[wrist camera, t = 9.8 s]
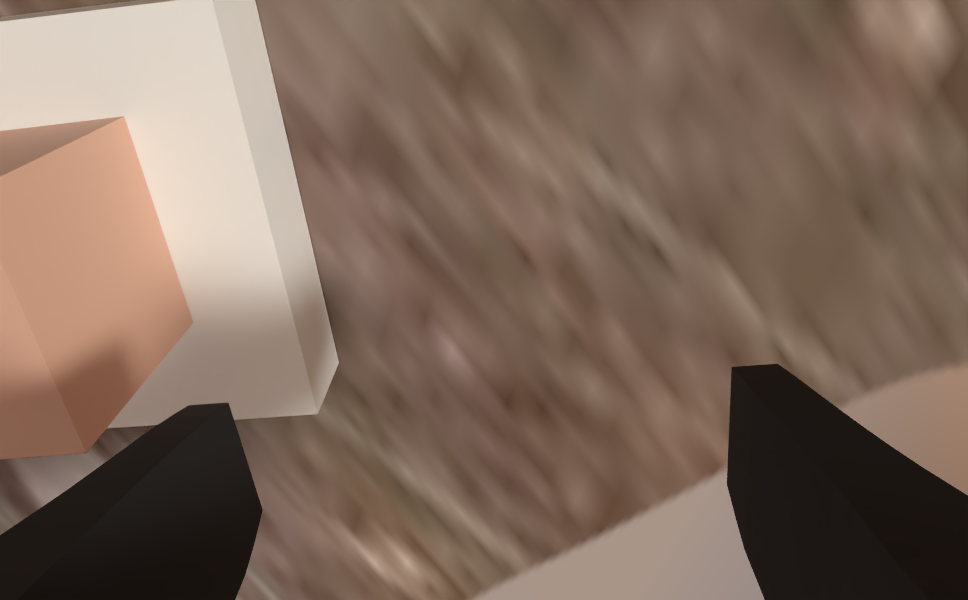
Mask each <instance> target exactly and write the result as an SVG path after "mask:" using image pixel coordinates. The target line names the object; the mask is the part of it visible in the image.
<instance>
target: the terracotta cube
mask: <svg viewBox="0 0 968 600" xmlns="http://www.w3.org/2000/svg"><path fill="white" fill-rule="evenodd" d="M192 323H193V320H192V317H191V314H190V311H189V308H188V305H187V302H186V299H185V296H184V293H183V290H182V287H181V284H180V281H179V278H178V275H177V272H176V269H175V266H174V263H173V260H172V257H171V254H170V251H169V248H168V245H167V242H166V239H165V236H164V233H163V230H162V227H161V225H160V222H159V219H158V216H157V213H156V210H155V207H154V204H153V201H152V198H151V195H150V192H149V189H148V186H147V183H146V180H145V177H144V174H143V171H142V168H141V165H140V162H139V159H138V156H137V153H136V150H135V147H134V144H133V141H132V138H131V135H130V132H129V129H128V126H127V123H126V120H125V117H124V116H122V117H114V118H105V119H97V120H89V121H80V122H72V123H63V124H55V125H46V126H38V127H29V128H21V129H12V130H4V131H0V459H14V458H27V457H41V456H54V455H68V454H81V453H87V452H88V450H89V449H90V448H91V447H92V445H93V444H94V443H95V442H96V441H97V439H98V438H99V437H100V436H101V434H102V433H103V432H104V431H105V430H106V428H107V427H108V426H109V425H110V423H111V422H112V421H113V420H114V419H115V417H116V416H117V415H118V414H119V412H120V411H121V410H122V409H123V408H124V406H125V405H126V404H127V403H128V402H129V400H130V399H131V398H132V397H133V395H134V394H135V393H136V392H137V391H138V389H139V388H140V387H141V386H142V384H143V383H144V382H145V381H146V380H147V378H148V377H149V376H150V375H151V373H152V372H153V371H154V370H155V369H156V367H157V366H158V365H159V364H160V362H161V361H162V360H163V359H164V358H165V356H166V355H167V354H168V353H169V352H170V350H171V349H172V348H173V347H174V345H175V344H176V343H177V342H178V341H179V339H180V338H181V337H182V336H183V334H184V333H185V332H186V331H187V330H188V328H189V327H190V326H191V325H192Z"/></svg>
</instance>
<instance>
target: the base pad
mask: <svg viewBox="0 0 968 600" xmlns="http://www.w3.org/2000/svg"><path fill="white" fill-rule="evenodd" d="M122 116H124V117H125V120H126V123H127V126H128V129H129V132H130V135H131V138H132V141H133V144H134V147H135V150H136V153H137V156H138V159H139V162H140V165H141V168H142V171H143V174H144V177H145V180H146V183H147V186H148V189H149V192H150V195H151V198H152V201H153V204H154V207H155V210H156V213H157V216H158V219H159V222H160V225H161V227H162V230H163V233H164V236H165V239H166V242H167V245H168V248H169V251H170V254H171V257H172V260H173V263H174V266H175V269H176V272H177V275H178V278H179V281H180V284H181V287H182V290H183V293H184V296H185V299H186V302H187V305H188V308H189V311H190V314H191V317H192V320H193V323H192V325H191V326H190V327H189V328H188V330H187V331H186V332H185V333H184V334H183V336H182V337H181V338H180V339H179V341H178V342H177V343H176V344H175V345H174V347H173V348H172V349H171V350H170V352H169V353H168V354H167V355H166V356H165V358H164V359H163V360H162V361H161V362H160V364H159V365H158V366H157V367H156V369H155V370H154V371H153V372H152V373H151V375H150V376H149V377H148V378H147V380H146V381H145V382H144V383H143V384H142V386H141V387H140V388H139V389H138V391H137V392H136V393H135V394H134V395H133V397H132V398H131V399H130V400H129V402H128V403H127V404H126V405H125V406H124V408H123V409H122V410H121V411H120V412H119V414H118V415H117V416H116V417H115V419H114V420H113V421H112V422H111V423H110V425H109V426H108V427H107V428H120V427H134V426H149V425H158V424H160V423H161V422H163V421H164V420H166V419H167V418H169V417H170V416H172V415H173V414H175V413H177V412H178V411H180V410H182V409H183V408H185V407H187V406H188V405H199V404H213V403H229V406H230V409H231V412H232V415H233V418H234V420H237V419H252V418H267V417H281V416H296V415H311V414H318V412H319V410H320V407H321V405H322V402H323V400H324V398H325V395H326V393H327V390H328V388H329V385H330V383H331V381H332V378H333V376H334V373H335V371H336V369H337V366H338V364H339V361H338V357H337V353H336V348H335V344H334V340H333V335H332V331H331V327H330V322H329V318H328V314H327V309H326V305H325V301H324V296H323V292H322V288H321V283H320V279H319V275H318V270H317V266H316V262H315V257H314V253H313V249H312V244H311V240H310V236H309V231H308V227H307V223H306V218H305V214H304V210H303V205H302V201H301V197H300V192H299V188H298V184H297V179H296V175H295V171H294V166H293V162H292V158H291V153H290V149H289V145H288V141H287V136H286V132H285V128H284V123H283V119H282V115H281V110H280V106H279V102H278V97H277V93H276V89H275V84H274V80H273V76H272V71H271V67H270V63H269V58H268V54H267V50H266V45H265V41H264V37H263V32H262V28H261V24H260V19H259V15H258V11H257V6H256V2H255V0H136V1H128V2H120V3H111V4H103V5H95V6H87V7H78V8H70V9H62V10H54V11H46V12H37V13H29V14H21V15H13V16H4V17H0V131H4V130H12V129H21V128H29V127H38V126H46V125H55V124H63V123H72V122H80V121H89V120H97V119H105V118H114V117H122Z"/></svg>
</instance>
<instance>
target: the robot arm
mask: <svg viewBox="0 0 968 600" xmlns="http://www.w3.org/2000/svg"><path fill="white" fill-rule="evenodd" d="M727 486H728V490H729V494H730V497H731V501H732V505H733V508H734V513H735V516H736V520H737V524H738V527H739V531H740V535H741V538H742V542H743V545H744V549H745V551H746V554H747V557H748V559H749V561H750V564H751V567H752V569H753V572H754V574H755V576H756V579H757V582H758V584H759V586H760V589H761V591H762V594H763V596H764V599H765V600H968V495H966V494H964V493H963V492H961V491H959V490H958V489H956V488H954V487H953V486H951V485H950V484H948V483H947V482H945V481H943V480H942V479H940V478H939V477H937V476H935V475H934V474H932V473H931V472H929V471H927V470H926V469H924V468H923V467H921V466H919V465H918V464H917V463H915V462H914V461H912V460H911V459H909V458H907V457H906V456H904V455H903V454H902V453H900V452H899V451H897V450H895V449H894V448H893V447H891V446H890V445H888V444H887V443H885V442H884V441H882V440H881V439H880V438H878V437H877V436H875V435H874V434H873V433H871V432H870V431H868V430H867V429H866V428H864V427H863V426H861V425H860V424H859V423H857V422H856V421H854V420H853V419H852V418H850V417H849V416H848V415H846V414H845V413H843V412H842V411H841V410H839V409H838V408H837V407H835V406H834V405H833V404H831V403H830V402H829V401H827V400H826V399H825V398H823V397H822V396H821V395H819V394H818V393H817V392H815V391H814V390H813V389H811V388H810V387H809V386H807V385H806V384H805V383H803V382H802V381H801V380H799V379H798V378H797V377H795V376H794V375H793V374H791V373H790V372H788V371H787V370H786V369H784V368H783V367H781V366H780V365H778V364H769V365H755V366H741V367H732V374H731V398H730V423H729V447H728V472H727ZM261 514H262V507H261V504H260V501H259V497H258V494H257V491H256V488H255V485H254V482H253V478H252V475H251V472H250V469H249V466H248V463H247V459H246V456H245V453H244V450H243V447H242V444H241V440H240V437H239V434H238V431H237V428H236V425H235V422H234V418H233V415H232V412H231V409H230V406H229V403H213V404H199V405H188V406H187V407H185V408H183V409H182V410H180V411H178V412H177V413H175V414H173V415H172V416H170V417H169V418H167V419H166V420H164V421H163V422H161V423H160V424H158V425H157V426H156V427H154V428H153V429H151V430H150V431H148V432H147V433H146V434H144V435H143V436H141V437H140V438H139V439H137V440H136V441H134V442H133V443H132V444H130V445H129V446H128V447H126V448H125V449H123V450H122V451H121V452H119V453H118V454H116V455H115V456H114V457H112V458H111V459H110V460H108V461H107V462H105V463H104V464H103V465H101V466H100V467H98V468H97V469H96V470H94V471H93V472H92V473H90V474H89V475H87V476H86V477H85V478H83V479H82V480H80V481H79V482H78V483H76V484H75V485H74V486H72V487H71V488H69V489H68V490H67V491H65V492H64V493H62V494H61V495H59V496H58V497H56V498H55V499H53V500H52V501H50V502H49V503H47V504H46V505H44V506H43V507H42V508H40V509H39V510H37V511H36V512H34V513H33V514H31V515H30V516H28V517H27V518H25V519H24V520H22V521H21V522H19V523H18V524H16V525H15V526H13V527H12V528H10V529H9V530H7V531H6V532H4V533H3V534H2V535H0V600H235V598H236V596H237V594H238V591H239V589H240V586H241V584H242V581H243V579H244V576H245V574H246V570H247V567H248V563H249V560H250V556H251V553H252V550H253V546H254V542H255V538H256V534H257V530H258V526H259V522H260V518H261Z"/></svg>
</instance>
